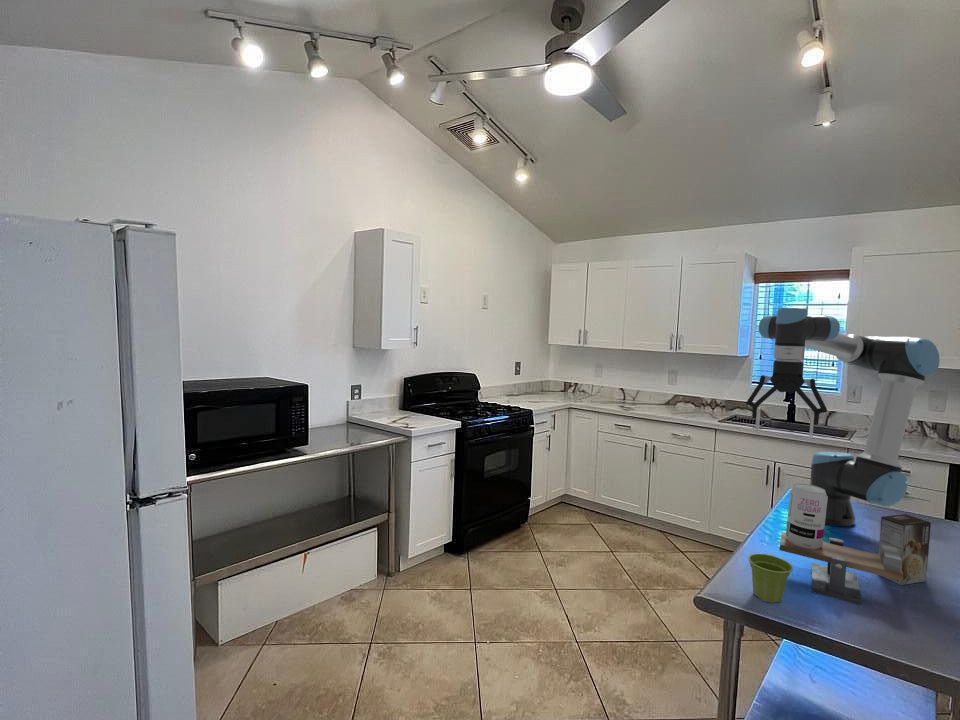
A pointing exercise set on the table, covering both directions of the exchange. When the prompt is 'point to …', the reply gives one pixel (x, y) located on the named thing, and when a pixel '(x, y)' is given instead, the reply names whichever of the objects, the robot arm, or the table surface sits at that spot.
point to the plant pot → (769, 576)
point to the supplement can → (806, 516)
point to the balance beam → (853, 557)
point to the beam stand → (836, 579)
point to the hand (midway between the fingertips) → (783, 432)
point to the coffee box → (907, 545)
